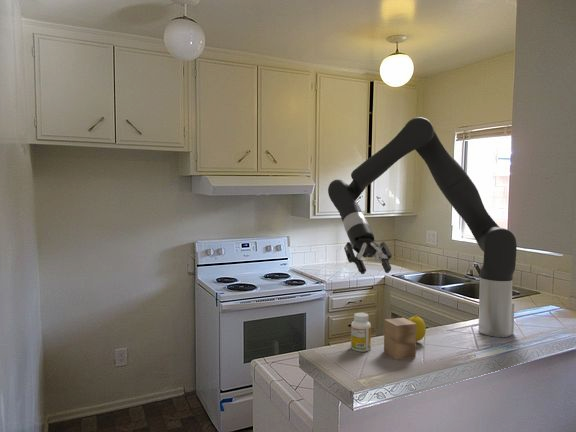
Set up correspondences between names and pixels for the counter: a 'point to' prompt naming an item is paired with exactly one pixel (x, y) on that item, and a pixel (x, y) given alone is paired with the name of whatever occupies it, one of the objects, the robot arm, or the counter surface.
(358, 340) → the supplement bottle
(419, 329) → the lemon
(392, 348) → the brown wooden block
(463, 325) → the counter surface
